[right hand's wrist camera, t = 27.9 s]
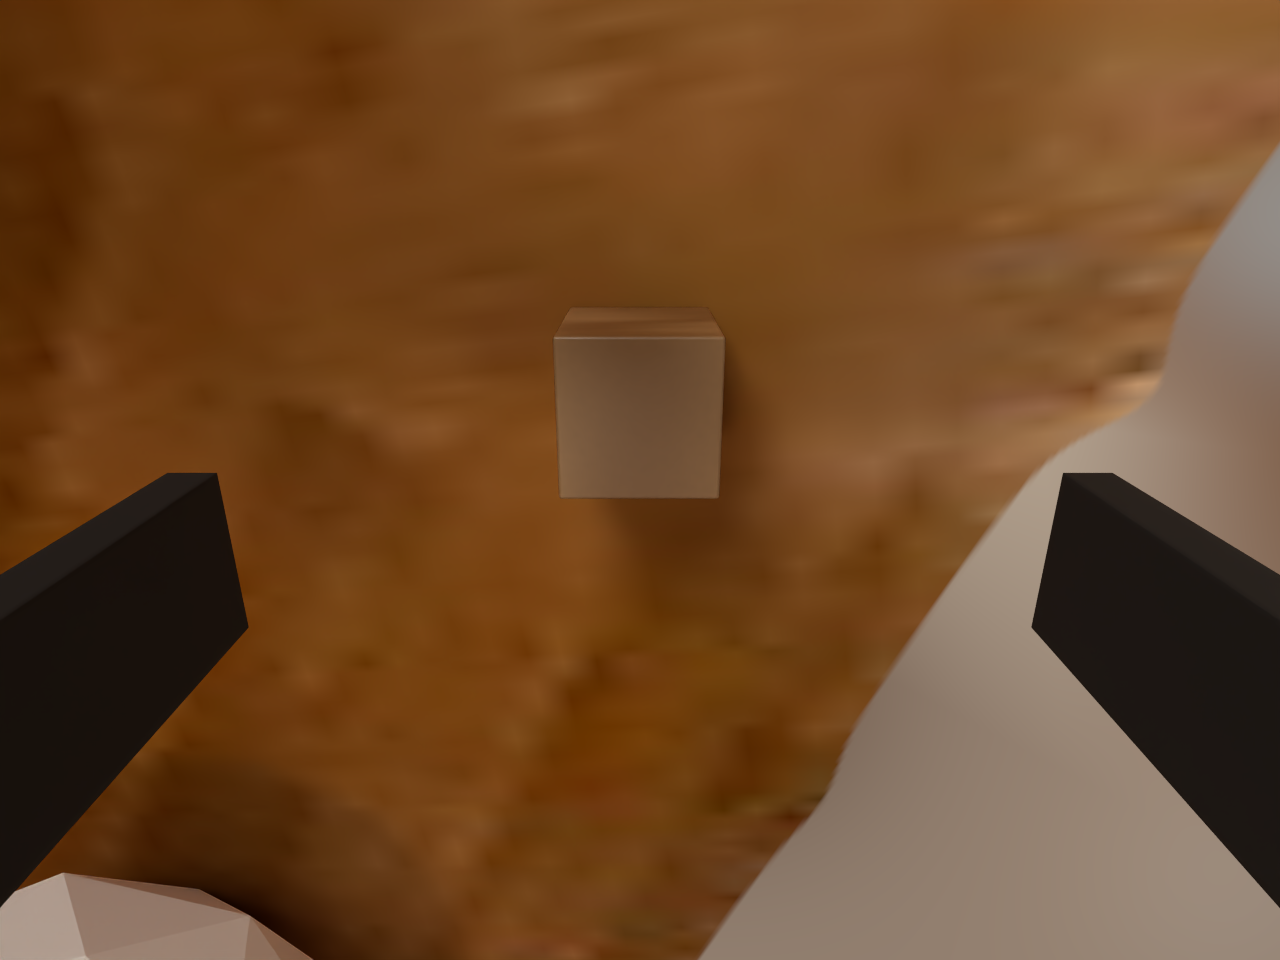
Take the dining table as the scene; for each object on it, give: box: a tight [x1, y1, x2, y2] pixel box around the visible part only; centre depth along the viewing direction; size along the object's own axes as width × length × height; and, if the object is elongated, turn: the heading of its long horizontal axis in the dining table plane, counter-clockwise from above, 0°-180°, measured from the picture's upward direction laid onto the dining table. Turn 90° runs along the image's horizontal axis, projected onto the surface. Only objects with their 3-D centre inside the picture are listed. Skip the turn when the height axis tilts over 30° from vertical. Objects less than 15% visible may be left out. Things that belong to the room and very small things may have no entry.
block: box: [553, 307, 725, 499], centre depth 21 cm, size 4×4×5 cm
